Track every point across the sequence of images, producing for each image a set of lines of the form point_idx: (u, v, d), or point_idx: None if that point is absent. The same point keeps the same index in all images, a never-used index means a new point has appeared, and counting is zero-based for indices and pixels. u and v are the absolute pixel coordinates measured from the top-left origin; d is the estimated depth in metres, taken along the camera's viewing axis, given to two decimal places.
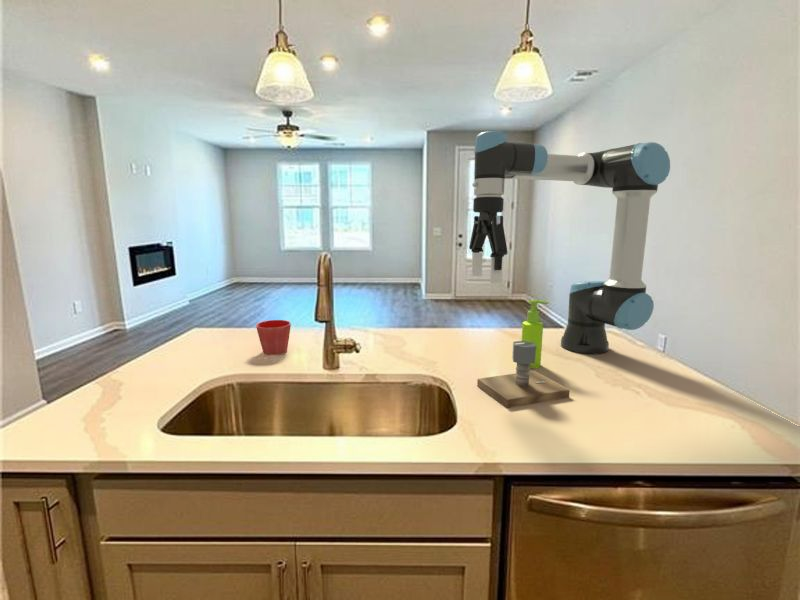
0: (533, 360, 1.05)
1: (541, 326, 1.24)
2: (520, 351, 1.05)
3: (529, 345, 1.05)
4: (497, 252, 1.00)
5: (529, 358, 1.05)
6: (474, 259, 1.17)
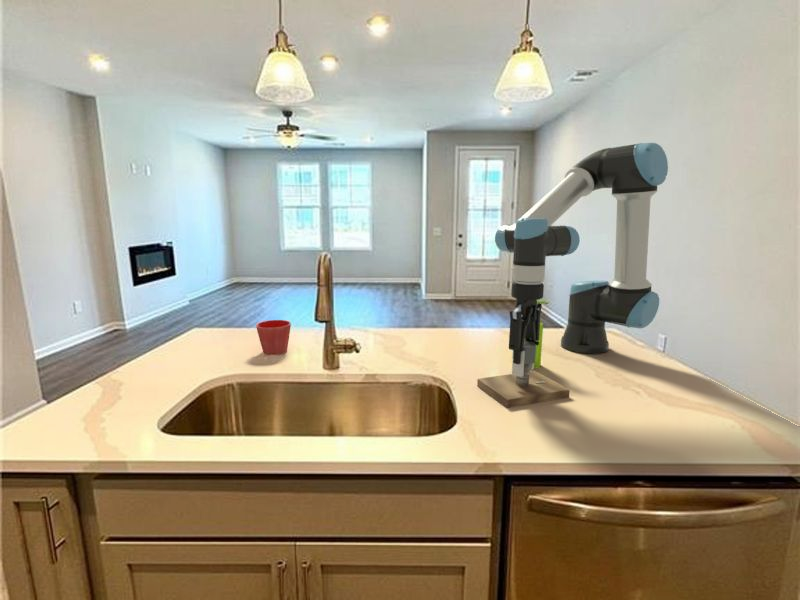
0: (533, 360, 1.05)
1: (541, 326, 1.24)
2: None
3: (529, 345, 1.05)
4: (509, 347, 1.03)
5: (529, 358, 1.05)
6: None
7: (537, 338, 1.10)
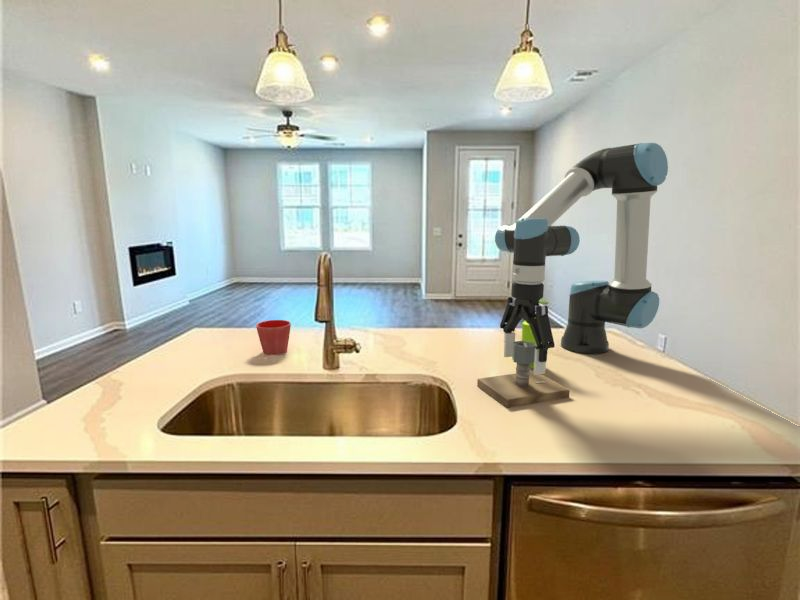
0: None
1: None
2: (531, 351, 1.05)
3: (531, 343, 1.07)
4: (545, 346, 0.97)
5: None
6: (507, 340, 1.12)
7: None
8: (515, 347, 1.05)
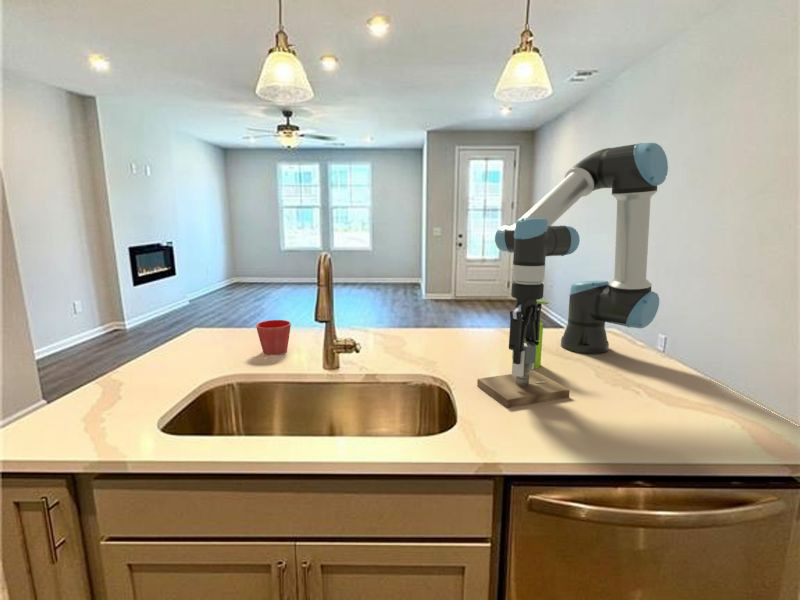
0: None
1: (541, 326, 1.24)
2: (531, 351, 1.05)
3: (531, 343, 1.07)
4: (509, 347, 1.03)
5: None
6: None
7: (537, 338, 1.10)
8: None
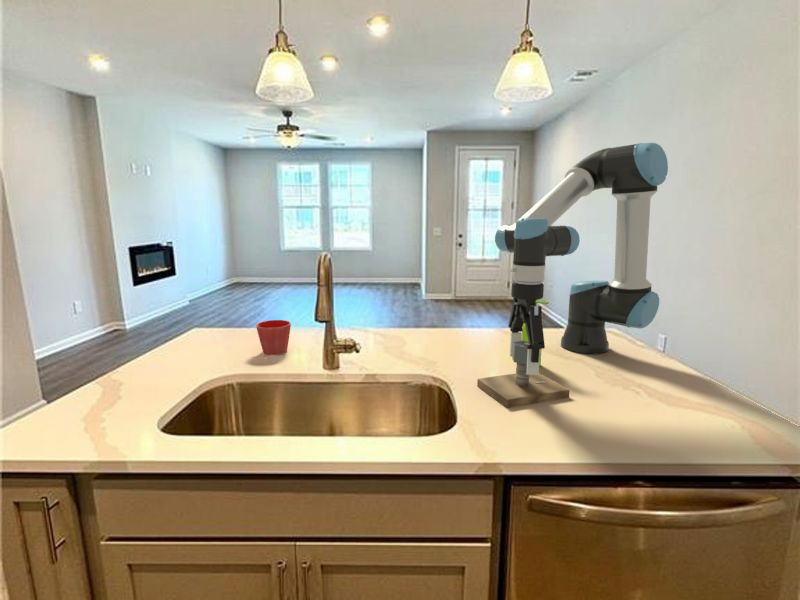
0: None
1: None
2: None
3: (525, 342, 1.08)
4: (533, 346, 0.96)
5: None
6: (513, 339, 1.13)
7: None
8: (527, 349, 1.04)
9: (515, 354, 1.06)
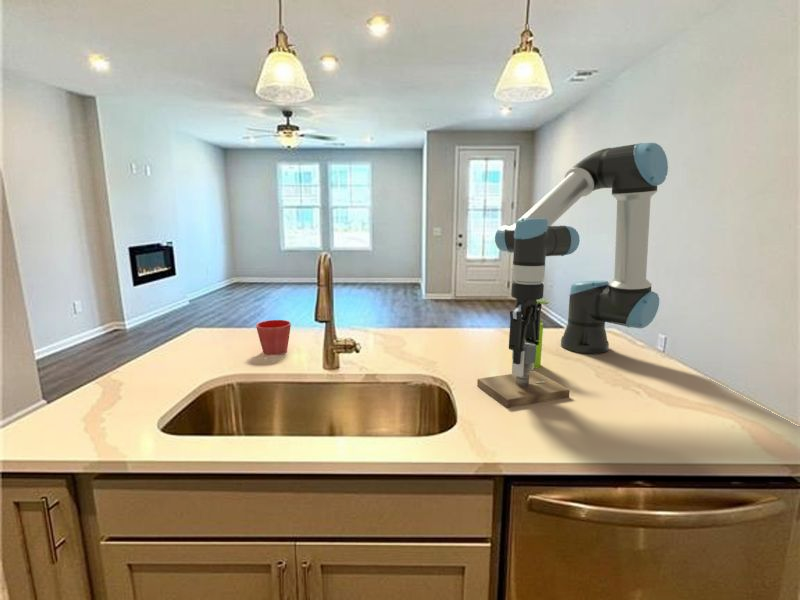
0: None
1: (541, 326, 1.24)
2: None
3: (525, 342, 1.08)
4: (509, 347, 1.03)
5: None
6: None
7: (537, 338, 1.10)
8: (527, 349, 1.04)
9: None
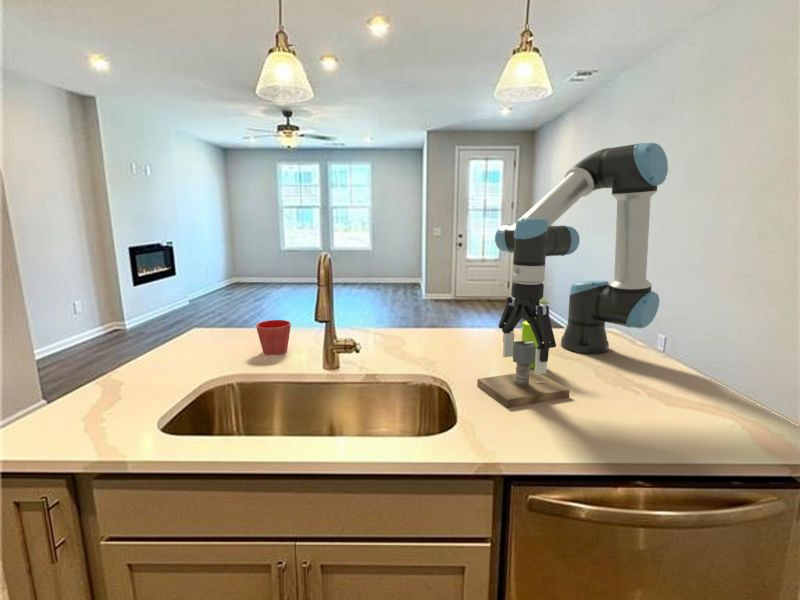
0: None
1: None
2: None
3: (519, 342, 1.08)
4: (546, 346, 0.97)
5: None
6: (506, 340, 1.12)
7: None
8: None
9: (525, 356, 1.04)
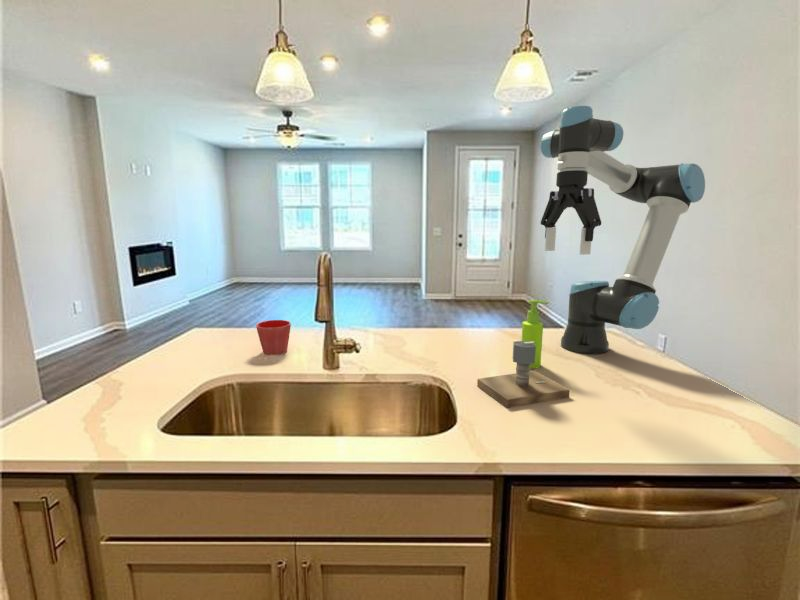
0: None
1: (541, 326, 1.24)
2: None
3: (519, 342, 1.08)
4: (592, 223, 1.03)
5: None
6: (549, 234, 1.19)
7: None
8: None
9: (525, 356, 1.04)
